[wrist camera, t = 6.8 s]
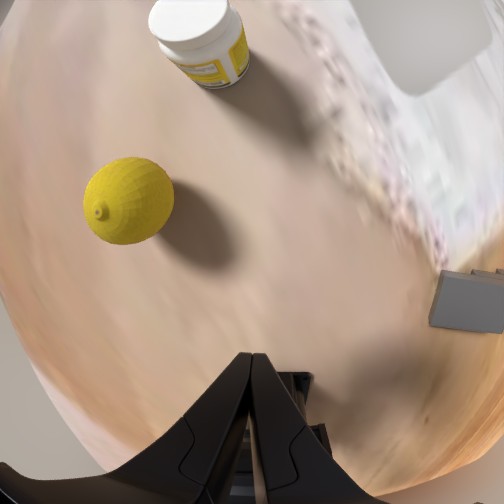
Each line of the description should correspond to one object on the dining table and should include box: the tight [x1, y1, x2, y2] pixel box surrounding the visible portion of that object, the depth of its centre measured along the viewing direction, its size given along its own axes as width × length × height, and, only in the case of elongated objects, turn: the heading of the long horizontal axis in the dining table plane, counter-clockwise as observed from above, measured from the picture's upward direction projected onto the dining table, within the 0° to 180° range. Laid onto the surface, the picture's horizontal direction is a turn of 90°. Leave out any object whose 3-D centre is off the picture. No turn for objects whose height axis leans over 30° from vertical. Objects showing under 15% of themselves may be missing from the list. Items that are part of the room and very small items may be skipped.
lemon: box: [83, 157, 174, 245], centre depth 16 cm, size 6×6×8 cm
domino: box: [428, 270, 504, 334], centre depth 19 cm, size 2×5×9 cm
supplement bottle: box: [149, 0, 250, 89], centre depth 12 cm, size 5×5×8 cm
